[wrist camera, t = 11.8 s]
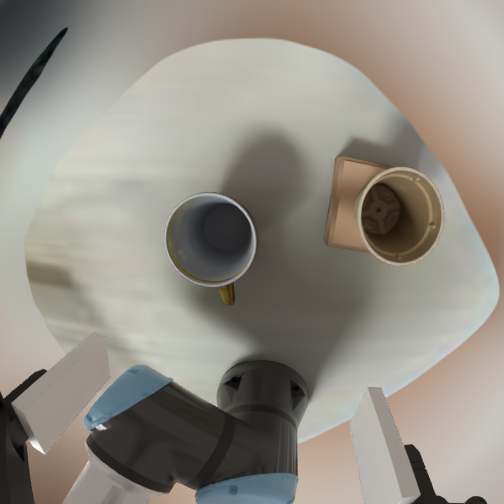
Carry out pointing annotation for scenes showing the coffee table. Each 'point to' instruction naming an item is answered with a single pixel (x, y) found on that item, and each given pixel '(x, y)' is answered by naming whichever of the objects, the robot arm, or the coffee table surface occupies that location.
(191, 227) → the ceramic cup
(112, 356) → the coffee table surface
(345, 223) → the stand
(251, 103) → the coffee table surface
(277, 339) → the coffee table surface
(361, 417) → the robot arm
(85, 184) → the coffee table surface
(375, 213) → the flower pot
